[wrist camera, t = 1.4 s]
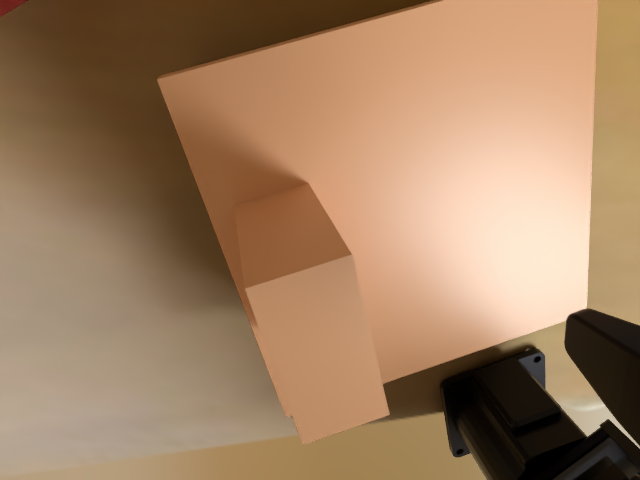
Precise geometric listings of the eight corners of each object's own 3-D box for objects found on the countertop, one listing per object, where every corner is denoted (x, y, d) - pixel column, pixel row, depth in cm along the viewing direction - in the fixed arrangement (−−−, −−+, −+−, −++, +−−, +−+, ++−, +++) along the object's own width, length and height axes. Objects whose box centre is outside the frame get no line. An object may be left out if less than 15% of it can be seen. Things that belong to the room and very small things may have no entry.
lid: (547, 283, 22) (697, 399, 15) (277, 374, 21) (310, 543, 14) (544, -34, 16) (788, -73, 9) (164, 70, 15) (128, 113, 8)
